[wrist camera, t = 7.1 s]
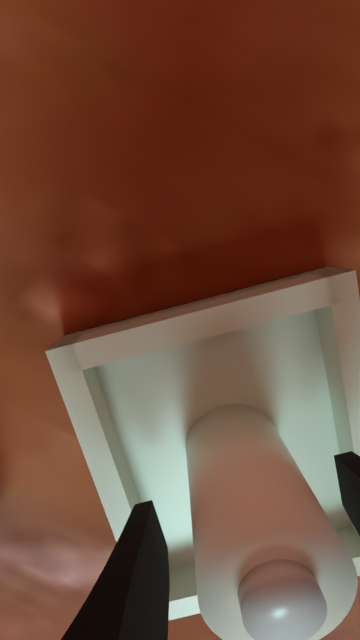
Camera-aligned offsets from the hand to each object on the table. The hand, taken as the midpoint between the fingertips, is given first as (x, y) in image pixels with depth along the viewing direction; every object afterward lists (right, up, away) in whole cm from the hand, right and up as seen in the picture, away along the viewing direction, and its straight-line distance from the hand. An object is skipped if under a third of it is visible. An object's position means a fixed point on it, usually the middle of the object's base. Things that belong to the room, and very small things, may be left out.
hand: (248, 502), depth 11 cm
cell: (0, +1, +3) cm, 3 cm away
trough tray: (0, +1, +4) cm, 4 cm away
